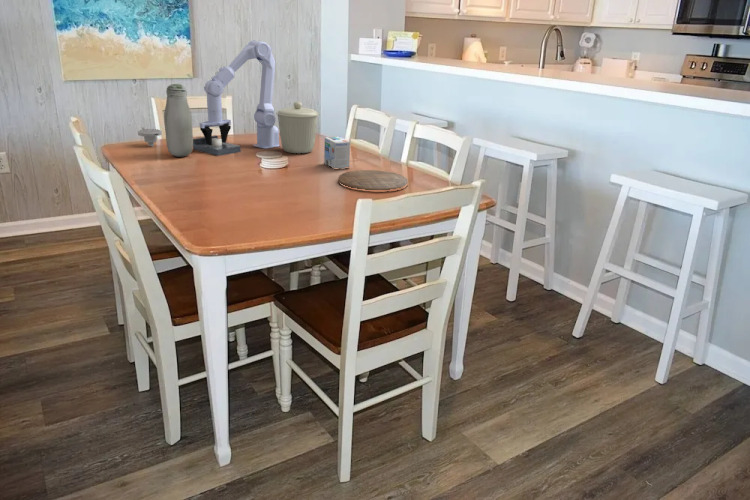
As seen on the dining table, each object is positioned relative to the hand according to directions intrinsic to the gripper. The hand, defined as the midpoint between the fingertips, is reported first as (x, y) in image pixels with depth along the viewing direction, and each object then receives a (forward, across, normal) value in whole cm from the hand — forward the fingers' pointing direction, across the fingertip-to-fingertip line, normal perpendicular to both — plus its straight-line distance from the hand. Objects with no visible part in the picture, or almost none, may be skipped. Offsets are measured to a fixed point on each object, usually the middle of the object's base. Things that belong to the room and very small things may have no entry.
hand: (216, 143), depth 242 cm
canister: (+3, +25, -23) cm, 34 cm away
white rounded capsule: (+3, 0, 0) cm, 3 cm away
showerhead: (+3, -15, +25) cm, 29 cm away
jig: (+3, 0, 0) cm, 3 cm away
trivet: (+4, +8, -77) cm, 78 cm away
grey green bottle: (+3, -17, +1) cm, 17 cm away
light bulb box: (+3, +17, -52) cm, 55 cm away
